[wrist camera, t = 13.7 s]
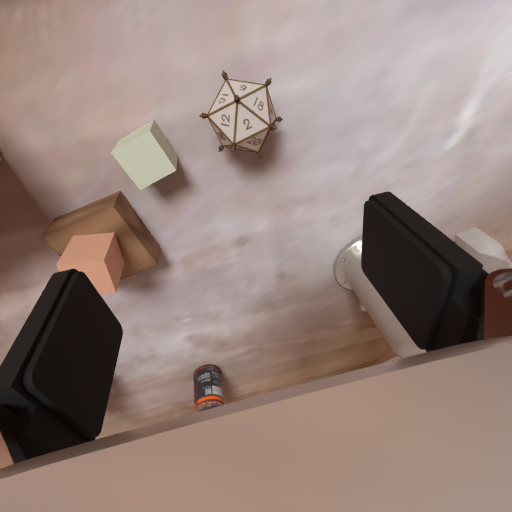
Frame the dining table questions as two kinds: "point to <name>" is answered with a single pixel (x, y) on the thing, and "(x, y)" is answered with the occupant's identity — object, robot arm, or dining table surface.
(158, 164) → the sage cube
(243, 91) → the game die
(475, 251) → the white block
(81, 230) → the walnut base block
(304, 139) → the dining table surface
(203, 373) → the supplement bottle
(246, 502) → the robot arm
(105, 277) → the terracotta block
